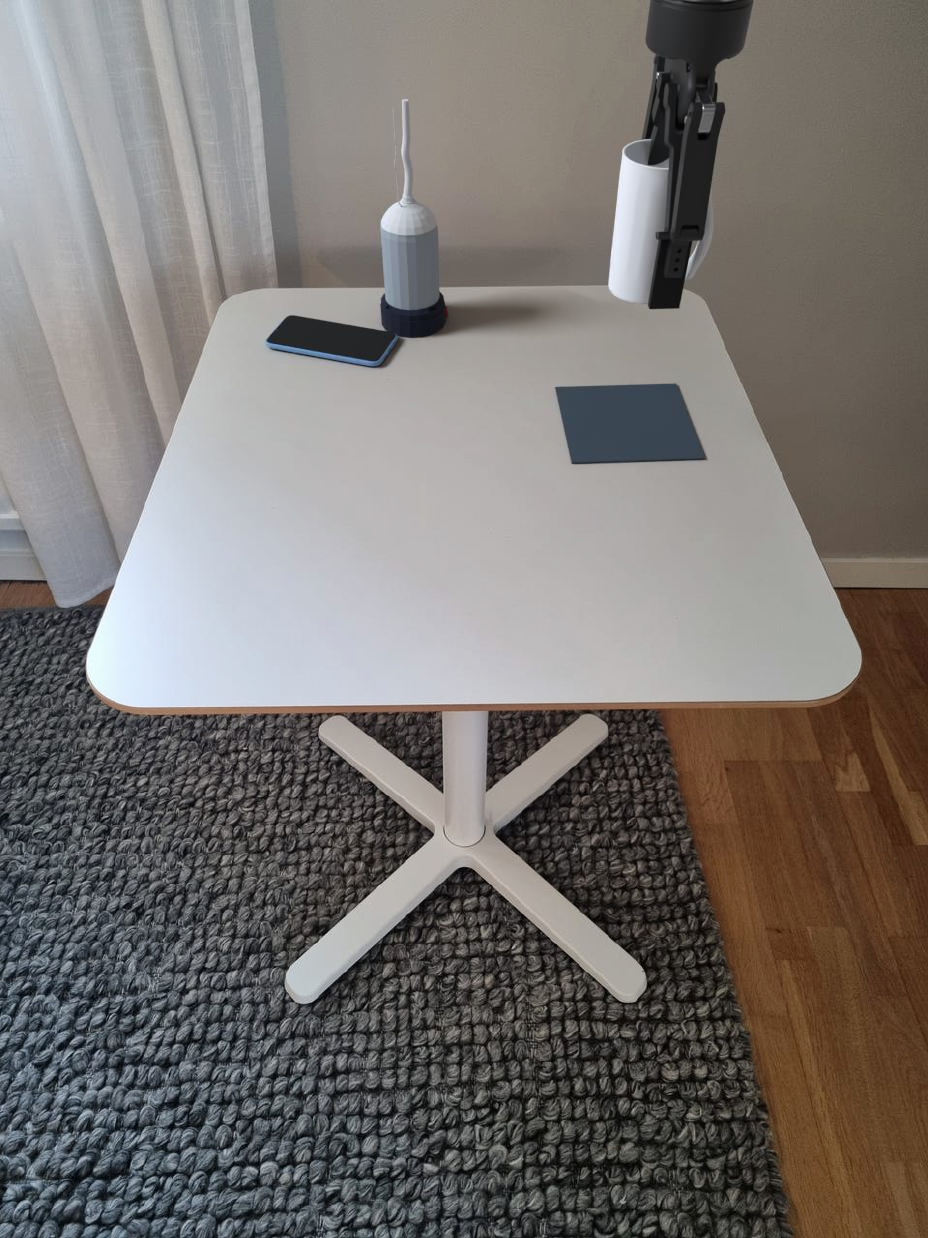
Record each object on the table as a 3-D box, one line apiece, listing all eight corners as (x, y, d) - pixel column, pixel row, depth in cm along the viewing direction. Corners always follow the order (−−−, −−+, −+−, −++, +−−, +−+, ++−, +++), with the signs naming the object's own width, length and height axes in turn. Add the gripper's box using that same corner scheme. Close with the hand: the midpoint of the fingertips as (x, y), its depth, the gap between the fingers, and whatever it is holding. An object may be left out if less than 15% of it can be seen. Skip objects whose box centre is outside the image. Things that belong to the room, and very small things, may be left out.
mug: (590, 285, 83) (605, 149, 74) (640, 265, 85) (661, 132, 77) (667, 328, 77) (693, 188, 68) (718, 306, 80) (750, 168, 71)
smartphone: (378, 362, 102) (261, 342, 105) (378, 369, 102) (262, 348, 105) (400, 331, 106) (287, 312, 109) (400, 337, 107) (288, 318, 110)
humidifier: (459, 318, 110) (458, 98, 92) (416, 344, 106) (406, 119, 87) (411, 298, 114) (401, 82, 95) (367, 323, 109) (348, 102, 91)
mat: (704, 459, 91) (705, 458, 91) (571, 463, 90) (571, 462, 90) (675, 384, 100) (676, 383, 100) (555, 388, 100) (555, 386, 100)
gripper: (627, -45, 71) (595, 233, 88) (685, 29, 57) (634, 343, 74) (718, -46, 71) (669, 231, 88) (798, 27, 57) (721, 341, 74)
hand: (653, 282), depth 81 cm, fingers closed on mug, 8 cm apart
